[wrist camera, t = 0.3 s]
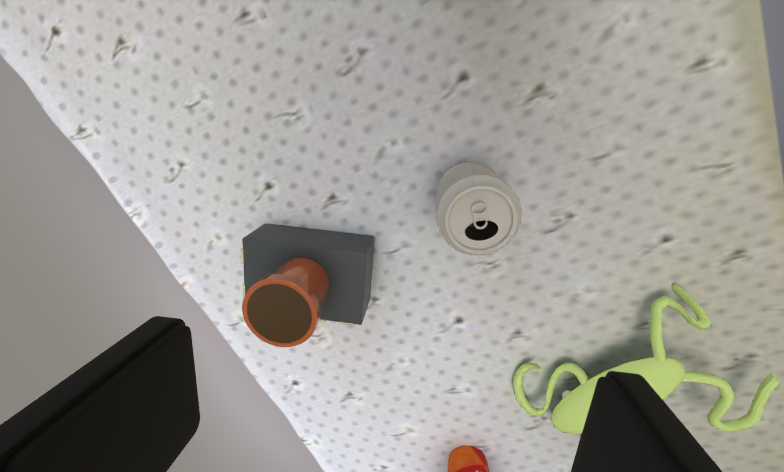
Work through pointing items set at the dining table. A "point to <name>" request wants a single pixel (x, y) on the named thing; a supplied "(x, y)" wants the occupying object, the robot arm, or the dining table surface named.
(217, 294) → the dining table surface
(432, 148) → the dining table surface
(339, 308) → the dark grey striped block
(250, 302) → the terracotta pot
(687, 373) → the figurine
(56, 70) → the dining table surface
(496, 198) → the can
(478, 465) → the paper cup
